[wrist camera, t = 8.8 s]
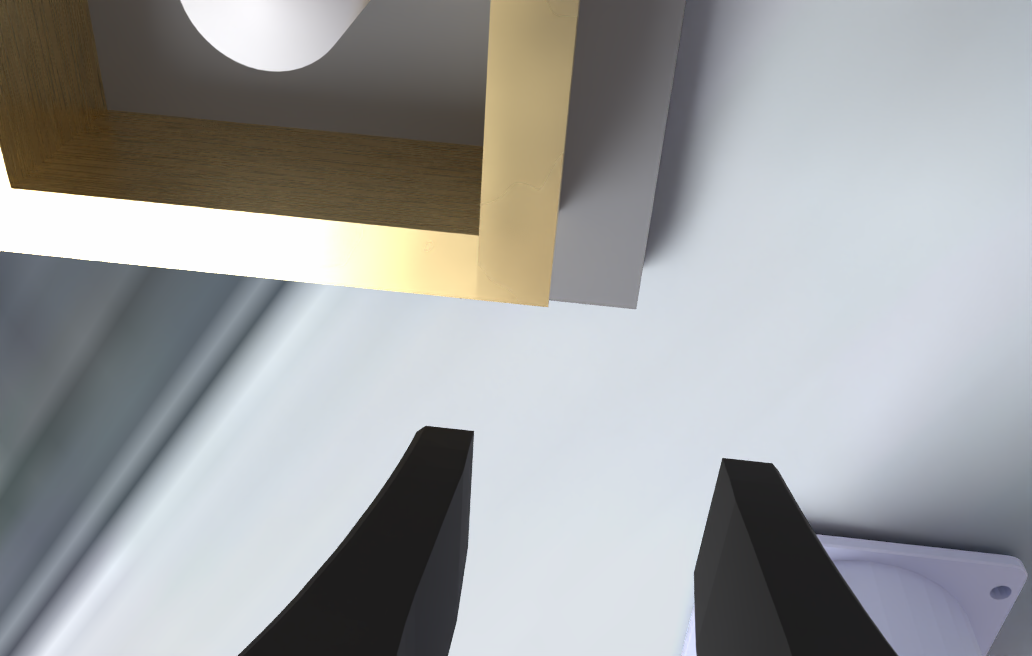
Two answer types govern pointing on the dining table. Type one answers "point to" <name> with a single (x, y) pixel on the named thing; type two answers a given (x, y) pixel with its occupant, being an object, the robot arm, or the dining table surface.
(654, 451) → the dining table surface
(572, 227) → the grey piece
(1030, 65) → the dining table surface
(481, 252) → the gold square frame
